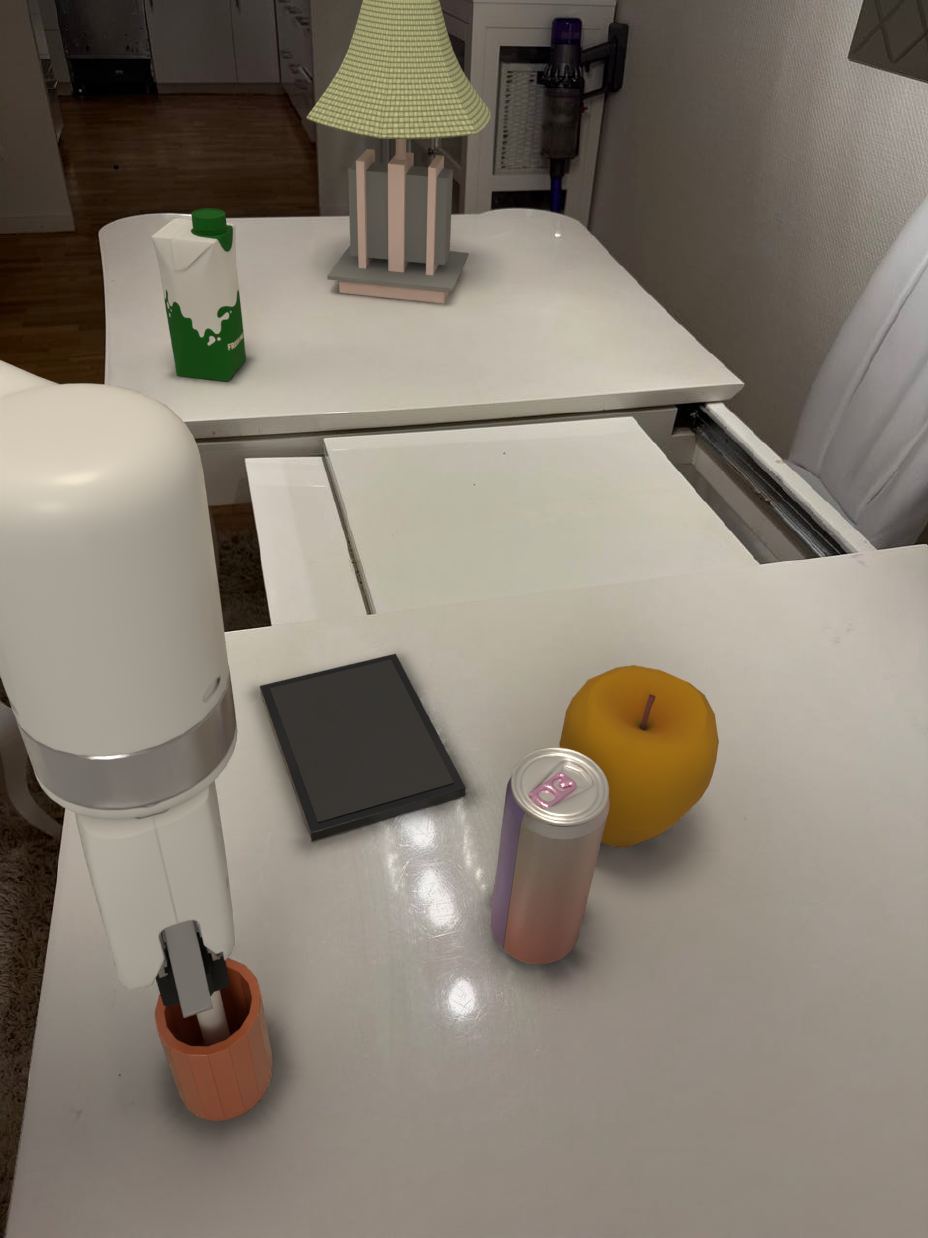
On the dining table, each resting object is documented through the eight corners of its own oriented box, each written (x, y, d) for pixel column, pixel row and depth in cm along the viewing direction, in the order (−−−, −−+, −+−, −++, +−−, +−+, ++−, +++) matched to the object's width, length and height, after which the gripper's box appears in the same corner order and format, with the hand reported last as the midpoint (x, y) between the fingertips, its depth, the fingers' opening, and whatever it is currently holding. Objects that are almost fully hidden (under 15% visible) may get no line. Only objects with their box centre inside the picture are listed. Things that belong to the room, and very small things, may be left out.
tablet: (311, 841, 67) (310, 832, 66) (260, 694, 78) (259, 684, 77) (465, 796, 71) (466, 786, 70) (395, 661, 82) (395, 652, 81)
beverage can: (471, 923, 62) (485, 777, 53) (534, 875, 65) (558, 729, 56) (533, 988, 59) (561, 845, 49) (596, 933, 62) (634, 789, 52)
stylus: (214, 1084, 53) (180, 959, 45) (210, 1061, 54) (175, 935, 46) (239, 1075, 53) (209, 950, 45) (234, 1052, 54) (204, 926, 46)
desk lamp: (489, 260, 161) (506, -18, 135) (465, 323, 140) (481, 7, 114) (344, 246, 163) (335, -30, 138) (299, 306, 142) (278, -9, 116)
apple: (661, 907, 64) (701, 785, 56) (521, 839, 68) (540, 716, 59) (710, 799, 71) (752, 678, 63) (582, 744, 75) (605, 623, 67)
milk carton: (233, 385, 120) (214, 226, 108) (166, 377, 121) (139, 218, 108) (254, 357, 127) (239, 204, 114) (191, 350, 128) (169, 197, 115)
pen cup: (186, 1136, 51) (163, 1072, 46) (171, 1046, 55) (148, 976, 50) (283, 1099, 53) (271, 1033, 48) (261, 1014, 57) (248, 944, 52)
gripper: (13, 606, 39) (96, 864, 51) (38, 924, 28) (136, 1158, 40) (195, 574, 42) (233, 826, 53) (282, 853, 31) (306, 1093, 43)
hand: (191, 967), depth 47 cm, fingers closed
